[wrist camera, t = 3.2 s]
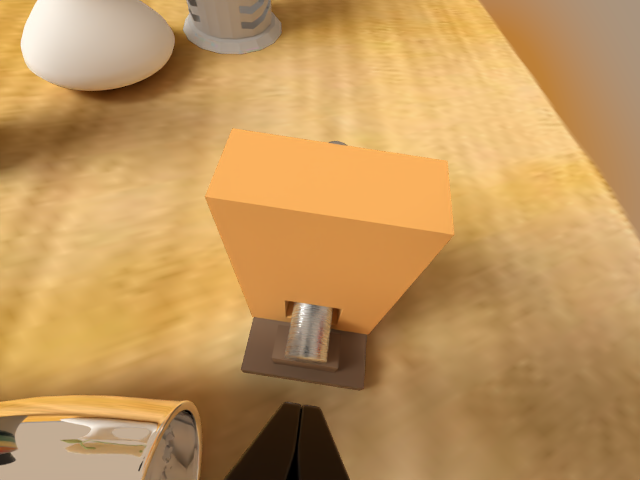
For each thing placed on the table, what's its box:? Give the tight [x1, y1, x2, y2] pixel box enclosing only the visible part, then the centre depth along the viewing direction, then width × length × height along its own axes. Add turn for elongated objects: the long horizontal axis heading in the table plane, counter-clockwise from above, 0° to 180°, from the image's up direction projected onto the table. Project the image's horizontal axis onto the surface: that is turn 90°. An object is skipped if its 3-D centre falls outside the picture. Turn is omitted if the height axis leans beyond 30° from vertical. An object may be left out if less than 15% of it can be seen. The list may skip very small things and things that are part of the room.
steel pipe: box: [285, 141, 347, 364], centre depth 16 cm, size 12×2×2 cm, turn 172°
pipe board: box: [241, 317, 367, 390], centre depth 17 cm, size 13×8×5 cm, turn 172°
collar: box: [205, 128, 454, 335], centre depth 12 cm, size 2×6×10 cm, turn 82°
